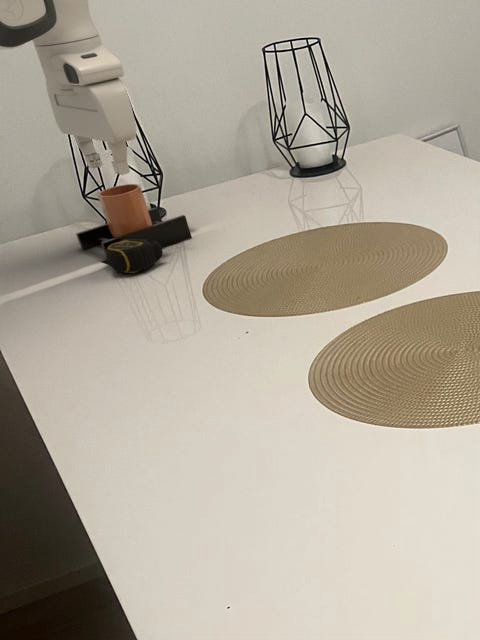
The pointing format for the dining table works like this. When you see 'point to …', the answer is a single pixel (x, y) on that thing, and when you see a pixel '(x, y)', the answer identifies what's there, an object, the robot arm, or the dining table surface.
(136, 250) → the tape measure
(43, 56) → the robot arm
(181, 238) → the rack
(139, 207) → the pot
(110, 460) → the dining table surface
